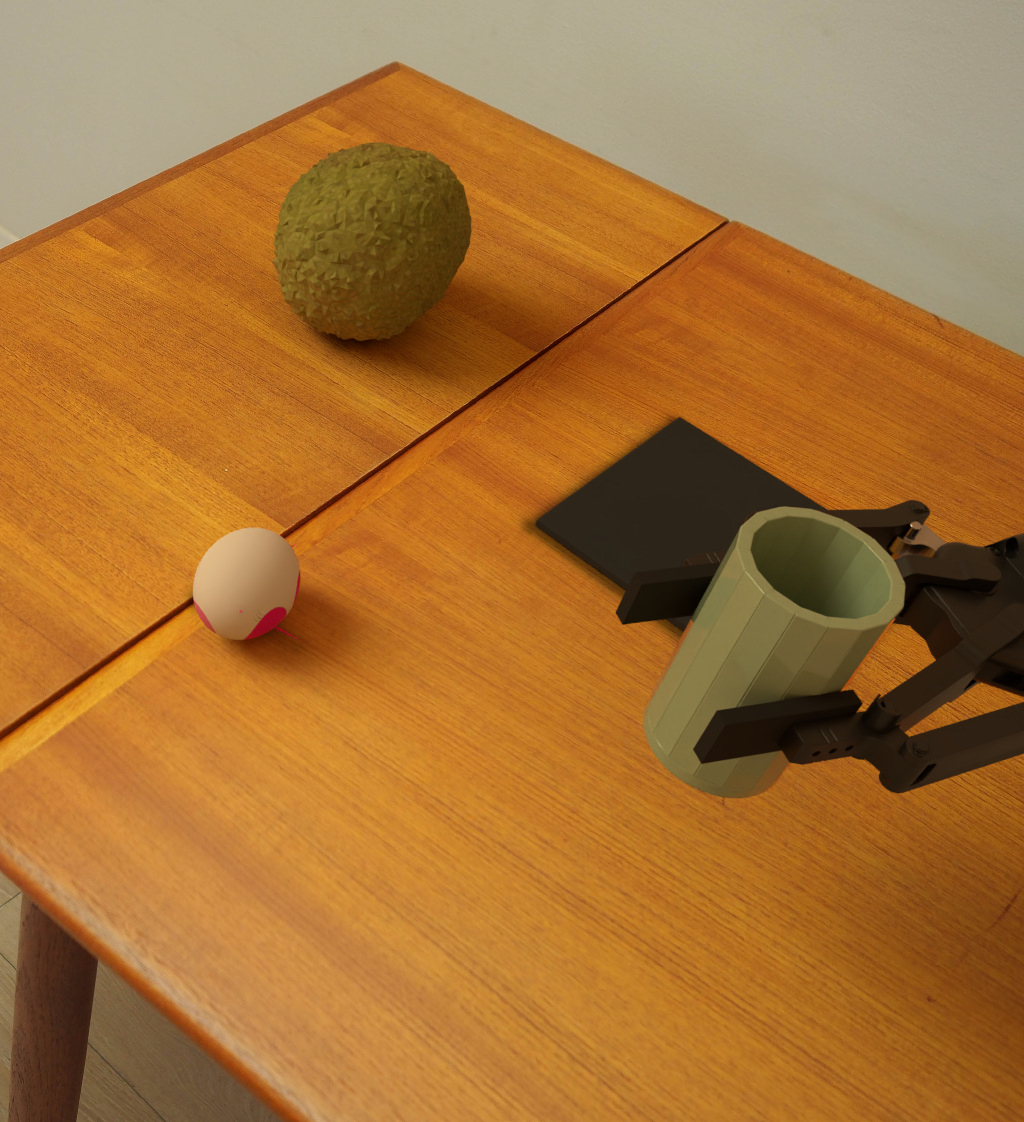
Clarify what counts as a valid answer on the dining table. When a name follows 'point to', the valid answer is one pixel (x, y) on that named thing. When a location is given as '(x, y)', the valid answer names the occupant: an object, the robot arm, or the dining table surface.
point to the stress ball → (246, 583)
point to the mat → (666, 505)
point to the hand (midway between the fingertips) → (667, 665)
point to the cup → (771, 637)
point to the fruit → (371, 240)
